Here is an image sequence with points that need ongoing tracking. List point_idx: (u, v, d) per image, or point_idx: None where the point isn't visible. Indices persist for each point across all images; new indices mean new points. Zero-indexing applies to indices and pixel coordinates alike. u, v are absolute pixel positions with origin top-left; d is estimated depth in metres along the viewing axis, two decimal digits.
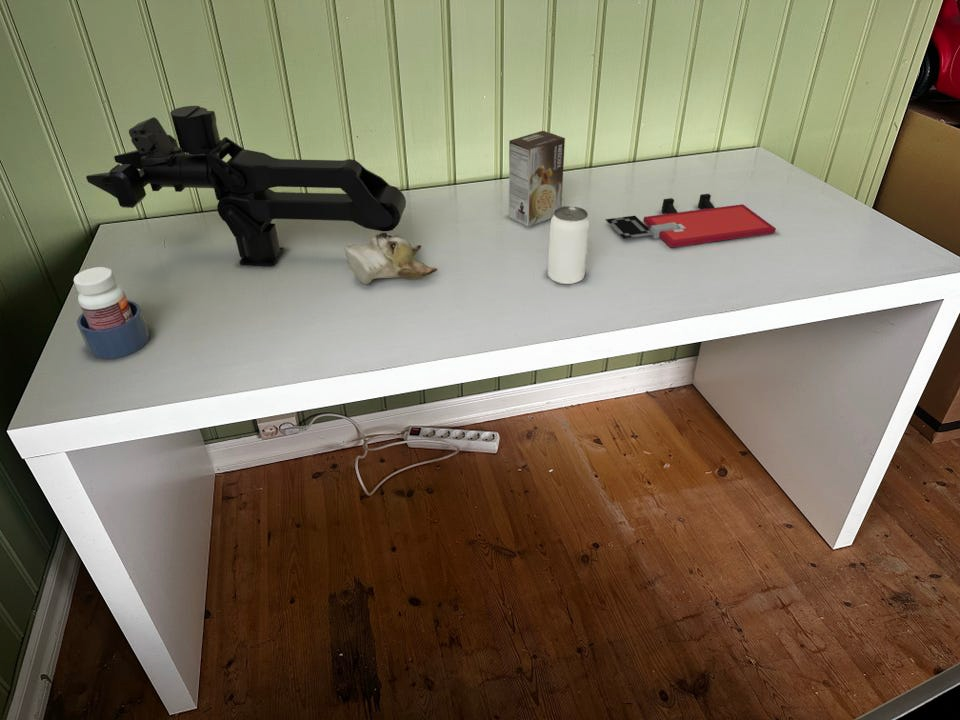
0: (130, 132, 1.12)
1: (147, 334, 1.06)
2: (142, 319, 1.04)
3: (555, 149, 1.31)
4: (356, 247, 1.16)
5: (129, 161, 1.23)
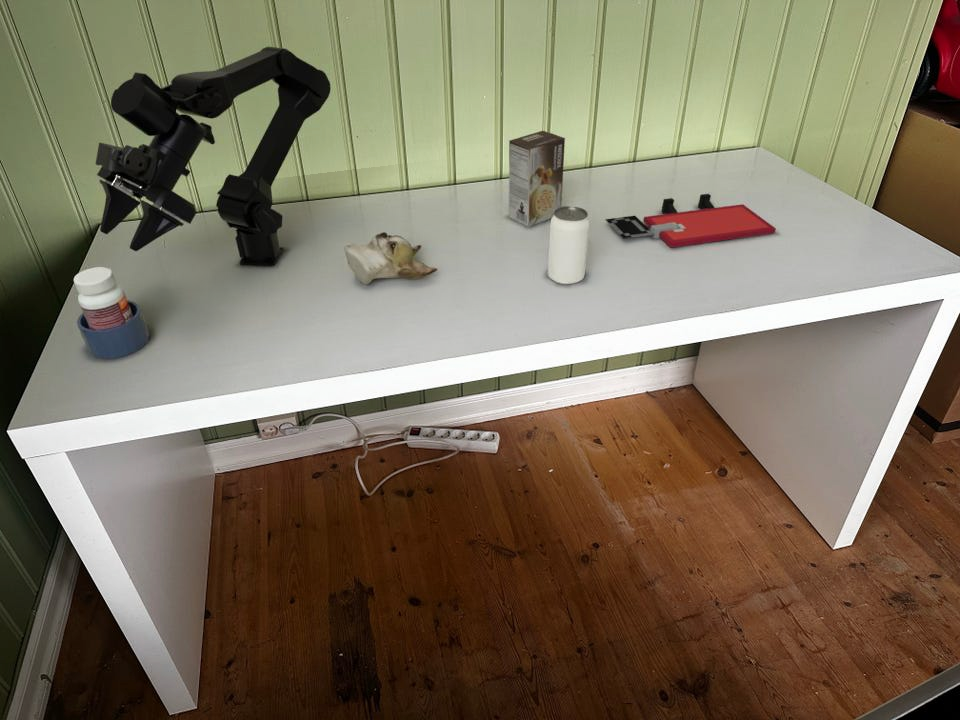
0: (111, 168, 0.96)
1: (147, 334, 1.06)
2: (142, 319, 1.04)
3: (555, 149, 1.31)
4: (356, 247, 1.16)
5: (114, 220, 1.06)
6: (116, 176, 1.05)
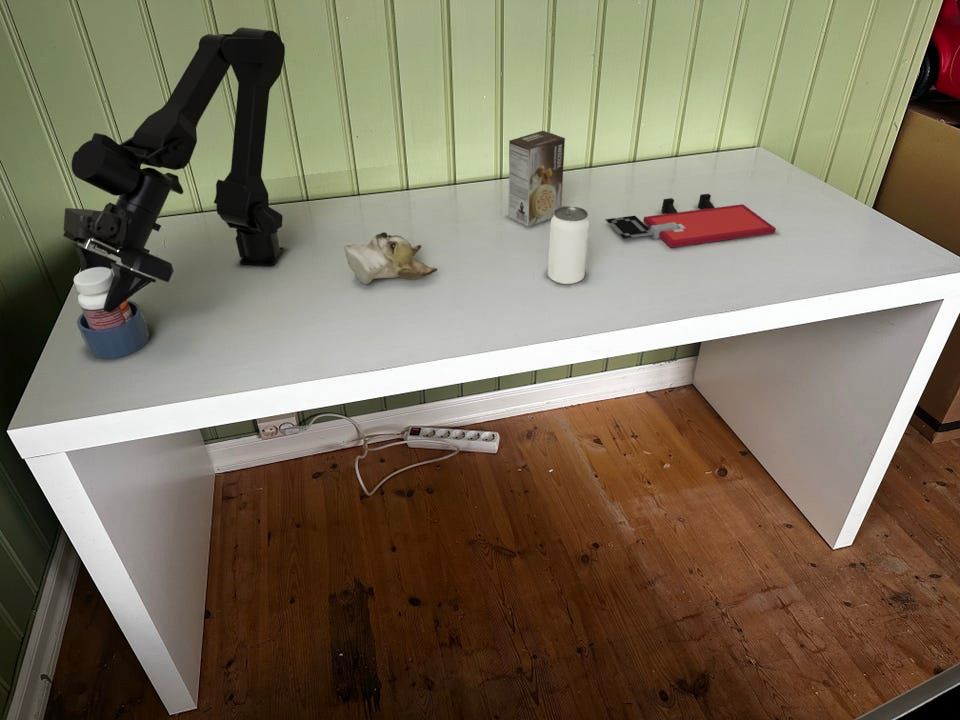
0: (81, 235, 0.93)
1: (147, 334, 1.06)
2: (142, 319, 1.04)
3: (555, 149, 1.31)
4: (356, 247, 1.16)
5: None
6: (89, 239, 1.01)
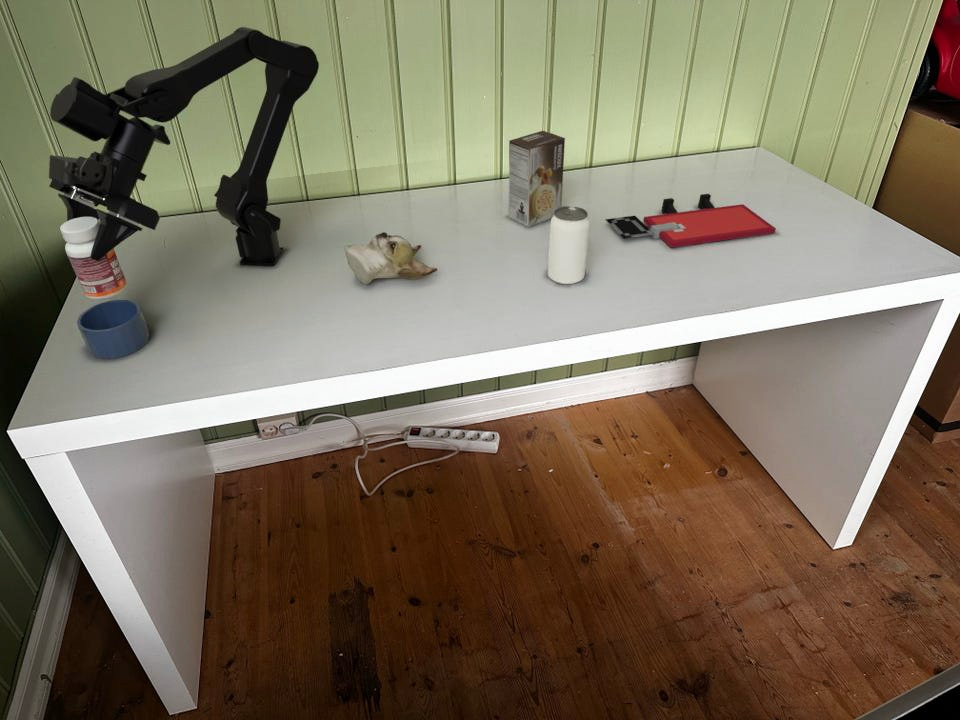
0: (67, 181, 0.94)
1: (147, 334, 1.06)
2: (142, 319, 1.04)
3: (555, 149, 1.31)
4: (356, 247, 1.16)
5: None
6: (75, 188, 1.01)
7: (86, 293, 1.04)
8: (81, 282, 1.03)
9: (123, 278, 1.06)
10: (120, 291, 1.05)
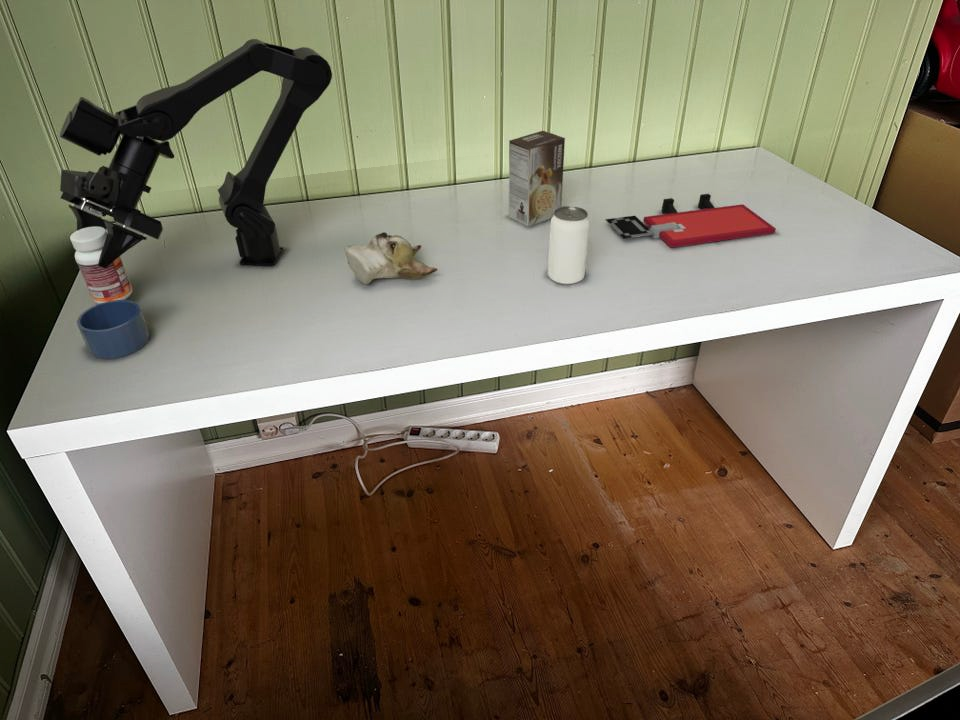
0: (77, 194, 1.01)
1: (147, 334, 1.06)
2: (142, 319, 1.04)
3: (555, 149, 1.31)
4: (356, 247, 1.16)
5: None
6: (84, 200, 1.08)
7: (94, 298, 1.10)
8: (89, 288, 1.09)
9: (129, 284, 1.12)
10: (125, 296, 1.12)
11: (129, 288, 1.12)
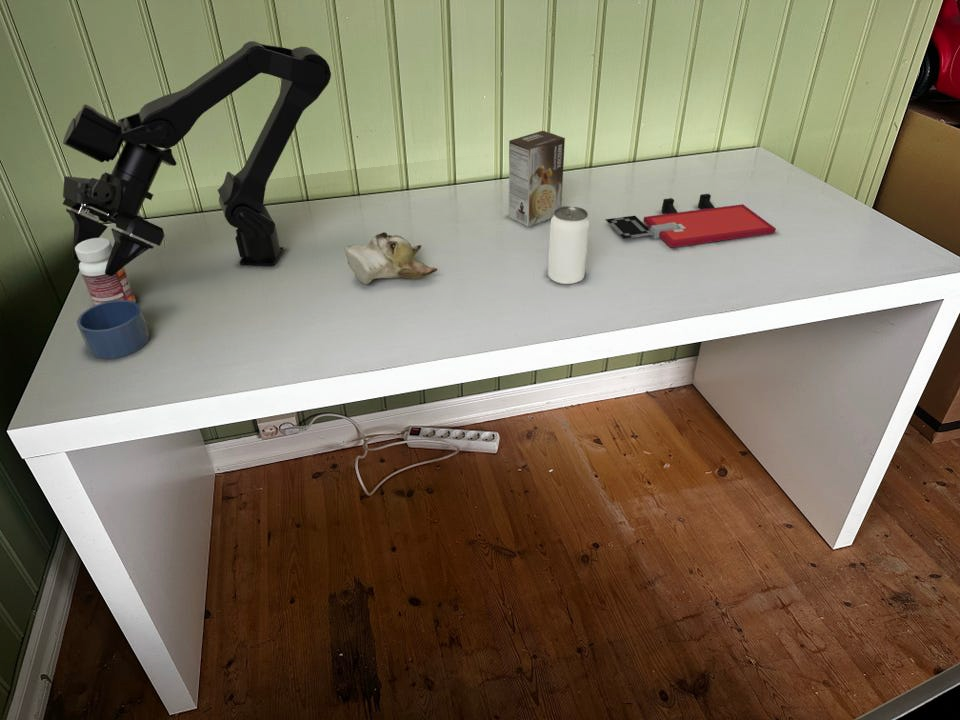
0: (79, 201, 1.02)
1: (147, 334, 1.06)
2: (142, 319, 1.04)
3: (555, 149, 1.31)
4: (356, 247, 1.16)
5: None
6: (82, 204, 1.10)
7: None
8: (93, 298, 1.10)
9: (132, 294, 1.14)
10: None
11: (132, 299, 1.14)
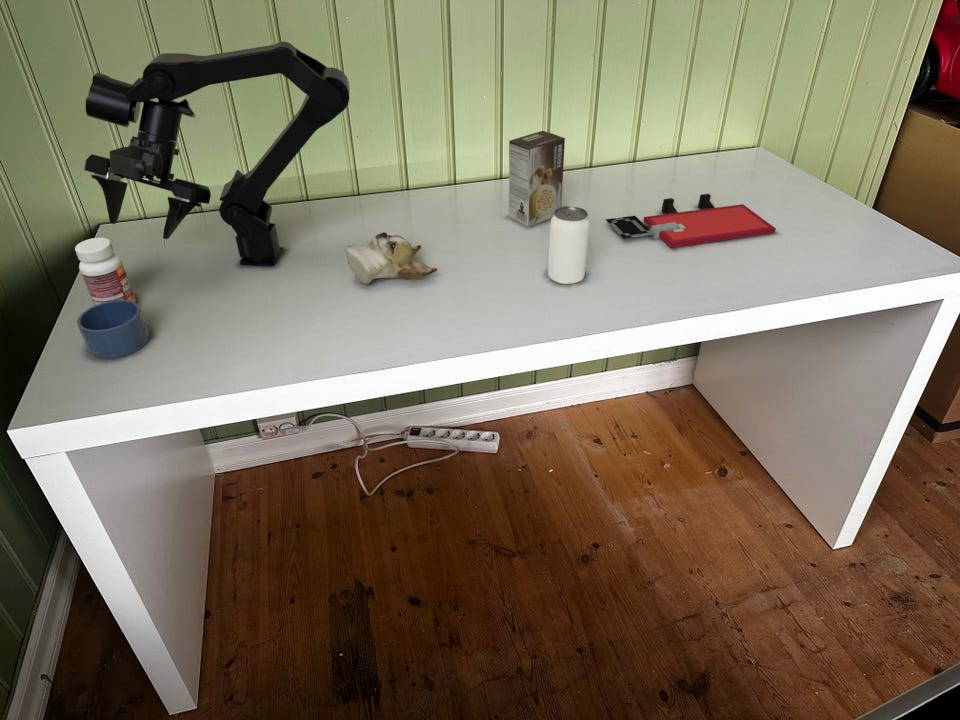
0: (137, 177, 1.05)
1: (147, 334, 1.06)
2: (142, 319, 1.04)
3: (555, 149, 1.31)
4: (356, 247, 1.16)
5: (116, 208, 1.13)
6: (109, 169, 1.10)
7: None
8: (93, 298, 1.10)
9: (132, 294, 1.14)
10: None
11: (132, 299, 1.14)
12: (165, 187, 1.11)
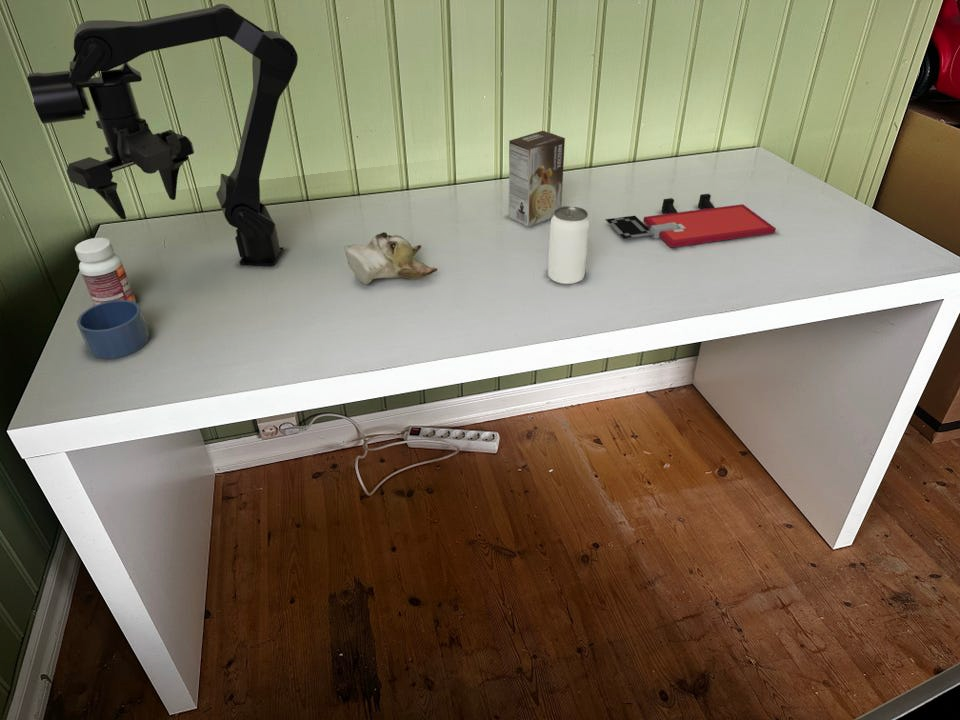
0: (172, 162, 1.07)
1: (147, 334, 1.06)
2: (142, 319, 1.04)
3: (555, 149, 1.31)
4: (356, 247, 1.16)
5: None
6: None
7: None
8: (93, 298, 1.10)
9: (132, 294, 1.14)
10: None
11: (132, 299, 1.14)
12: None
